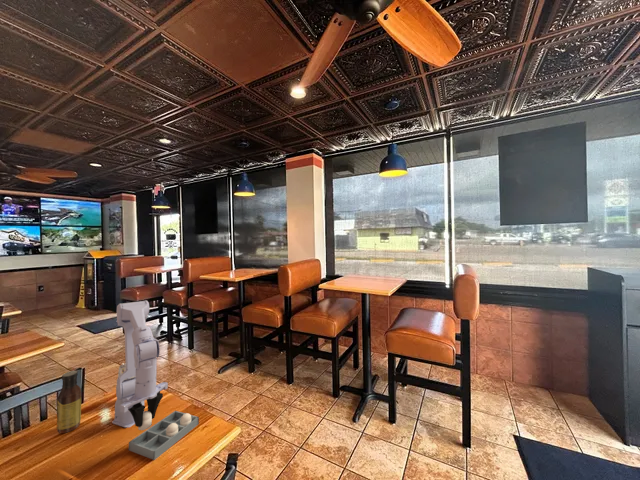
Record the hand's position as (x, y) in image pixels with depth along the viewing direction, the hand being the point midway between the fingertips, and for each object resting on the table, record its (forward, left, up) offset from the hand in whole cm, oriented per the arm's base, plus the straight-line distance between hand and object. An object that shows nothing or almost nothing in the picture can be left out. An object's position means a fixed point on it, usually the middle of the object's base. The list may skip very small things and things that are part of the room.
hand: (145, 421), depth 83 cm
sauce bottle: (-35, -3, -8) cm, 36 cm away
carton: (+3, +6, -8) cm, 10 cm away
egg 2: (+5, +6, -8) cm, 11 cm away
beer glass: (-33, +16, -8) cm, 37 cm away
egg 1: (0, 0, -1) cm, 1 cm away
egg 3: (+5, +11, -8) cm, 14 cm away
